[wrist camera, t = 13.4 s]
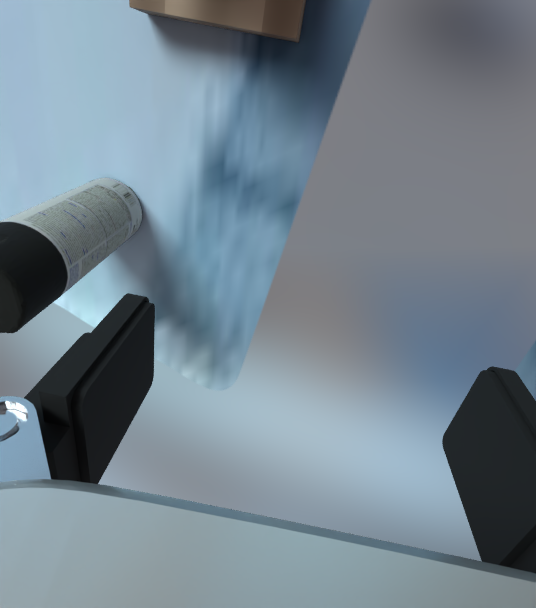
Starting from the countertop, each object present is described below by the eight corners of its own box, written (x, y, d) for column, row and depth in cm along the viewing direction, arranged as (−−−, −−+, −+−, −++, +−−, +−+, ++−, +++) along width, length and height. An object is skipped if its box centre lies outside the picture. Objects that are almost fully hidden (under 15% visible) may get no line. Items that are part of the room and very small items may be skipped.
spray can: (77, 174, 40) (-103, 245, 23) (140, 177, 40) (4, 252, 22) (90, 235, 44) (-58, 337, 26) (149, 239, 43) (36, 345, 26)
